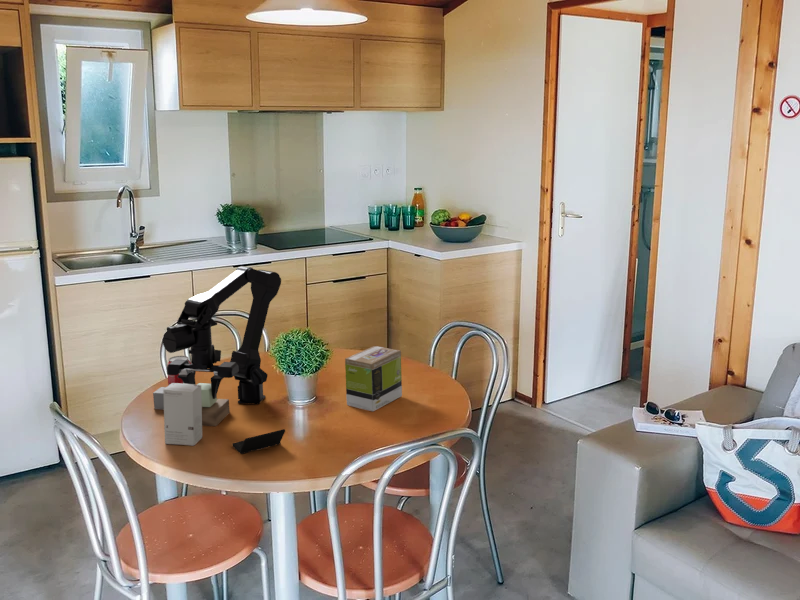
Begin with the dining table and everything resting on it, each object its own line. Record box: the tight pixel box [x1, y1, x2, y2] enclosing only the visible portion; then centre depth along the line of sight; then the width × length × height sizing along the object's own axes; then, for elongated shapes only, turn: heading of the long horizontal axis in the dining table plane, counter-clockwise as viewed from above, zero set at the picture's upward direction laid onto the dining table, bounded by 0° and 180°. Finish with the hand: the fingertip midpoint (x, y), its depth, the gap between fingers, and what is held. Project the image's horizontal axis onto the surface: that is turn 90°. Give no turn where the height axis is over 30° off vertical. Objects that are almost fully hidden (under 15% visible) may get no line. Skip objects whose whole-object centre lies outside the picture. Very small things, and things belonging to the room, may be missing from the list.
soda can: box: [166, 355, 192, 386], centre depth 228 cm, size 7×7×12 cm
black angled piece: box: [231, 428, 286, 455], centre depth 194 cm, size 12×7×10 cm
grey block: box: [152, 386, 167, 411], centre depth 222 cm, size 5×5×5 cm
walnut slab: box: [202, 398, 231, 427], centre depth 213 cm, size 10×10×4 cm
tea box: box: [344, 345, 403, 412], centre depth 224 cm, size 15×10×15 cm, turn 146°
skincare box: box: [163, 383, 203, 446], centre depth 197 cm, size 8×6×15 cm
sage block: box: [196, 382, 218, 407], centre depth 212 cm, size 5×5×5 cm
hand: (204, 397), depth 212 cm, fingers open, 5 cm apart
